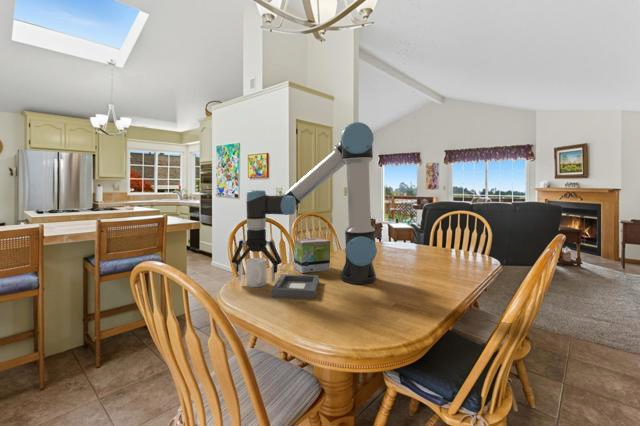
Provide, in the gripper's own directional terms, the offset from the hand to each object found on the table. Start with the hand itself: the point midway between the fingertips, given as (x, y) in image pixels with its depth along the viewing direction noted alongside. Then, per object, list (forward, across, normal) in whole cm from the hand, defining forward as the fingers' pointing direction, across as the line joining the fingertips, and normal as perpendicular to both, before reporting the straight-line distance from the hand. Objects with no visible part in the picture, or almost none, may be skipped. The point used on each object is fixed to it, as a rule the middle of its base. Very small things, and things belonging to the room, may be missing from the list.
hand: (256, 280), depth 133 cm
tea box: (+2, -20, -27) cm, 34 cm away
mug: (+2, 0, 0) cm, 3 cm away
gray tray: (+2, -17, +3) cm, 17 cm away
